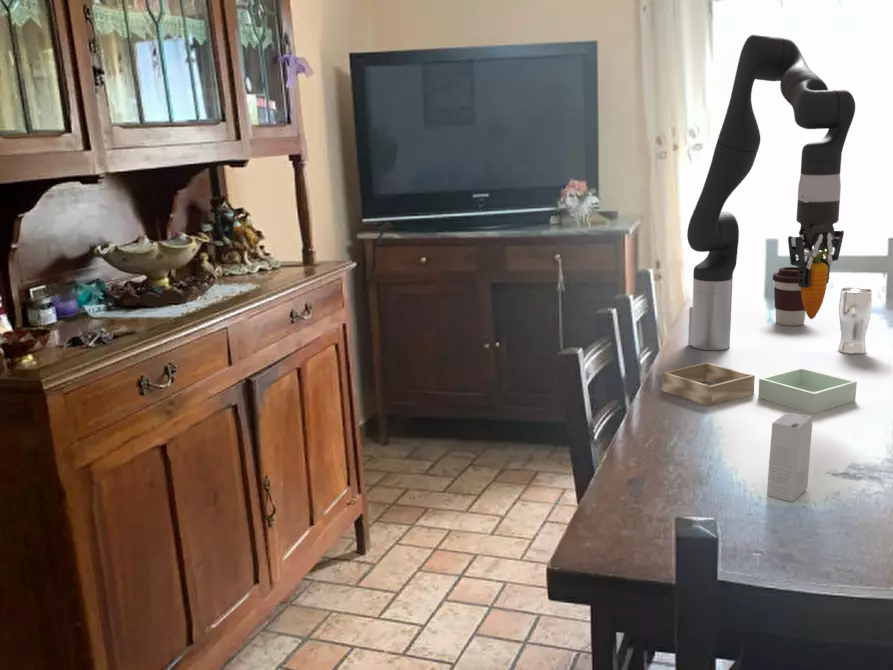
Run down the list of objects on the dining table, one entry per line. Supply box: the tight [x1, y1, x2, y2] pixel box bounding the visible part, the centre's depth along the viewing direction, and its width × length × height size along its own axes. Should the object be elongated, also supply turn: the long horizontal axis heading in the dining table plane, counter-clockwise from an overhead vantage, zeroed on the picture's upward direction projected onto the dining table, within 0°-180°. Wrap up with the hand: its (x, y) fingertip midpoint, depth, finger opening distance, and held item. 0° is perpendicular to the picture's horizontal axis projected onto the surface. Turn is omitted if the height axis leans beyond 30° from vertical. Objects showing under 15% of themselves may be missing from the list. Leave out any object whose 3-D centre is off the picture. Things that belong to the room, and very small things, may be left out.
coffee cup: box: [772, 266, 807, 327], centre depth 245 cm, size 10×10×15 cm
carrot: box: [801, 247, 828, 320], centre depth 177 cm, size 5×5×15 cm
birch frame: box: [662, 362, 756, 407], centre depth 189 cm, size 13×13×4 cm
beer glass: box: [837, 286, 873, 355], centre depth 215 cm, size 7×7×15 cm
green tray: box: [757, 367, 858, 415], centre depth 182 cm, size 13×13×4 cm
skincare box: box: [766, 412, 814, 503], centre depth 138 cm, size 6×4×12 cm
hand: (813, 284), depth 177 cm, fingers closed on carrot, 5 cm apart
